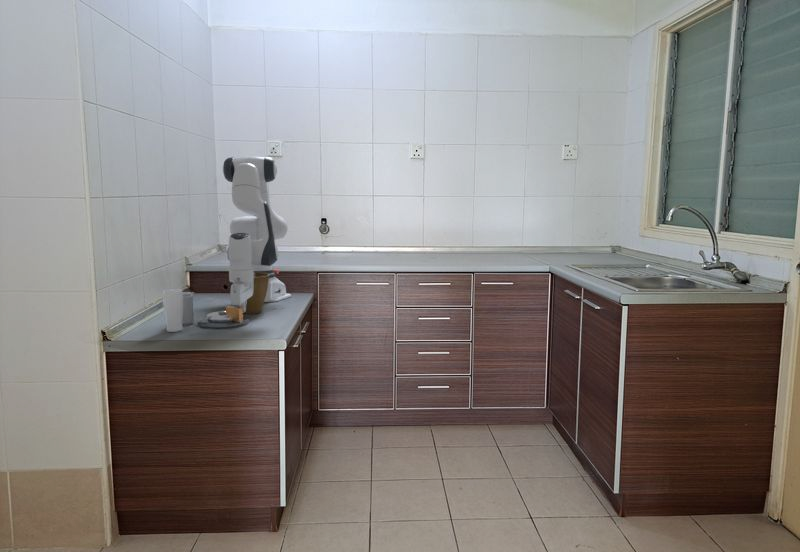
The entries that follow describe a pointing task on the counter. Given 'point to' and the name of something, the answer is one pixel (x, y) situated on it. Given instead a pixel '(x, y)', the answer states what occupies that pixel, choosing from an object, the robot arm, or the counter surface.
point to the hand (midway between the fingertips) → (242, 312)
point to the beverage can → (187, 309)
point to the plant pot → (258, 293)
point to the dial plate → (212, 325)
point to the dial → (226, 315)
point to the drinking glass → (173, 309)
